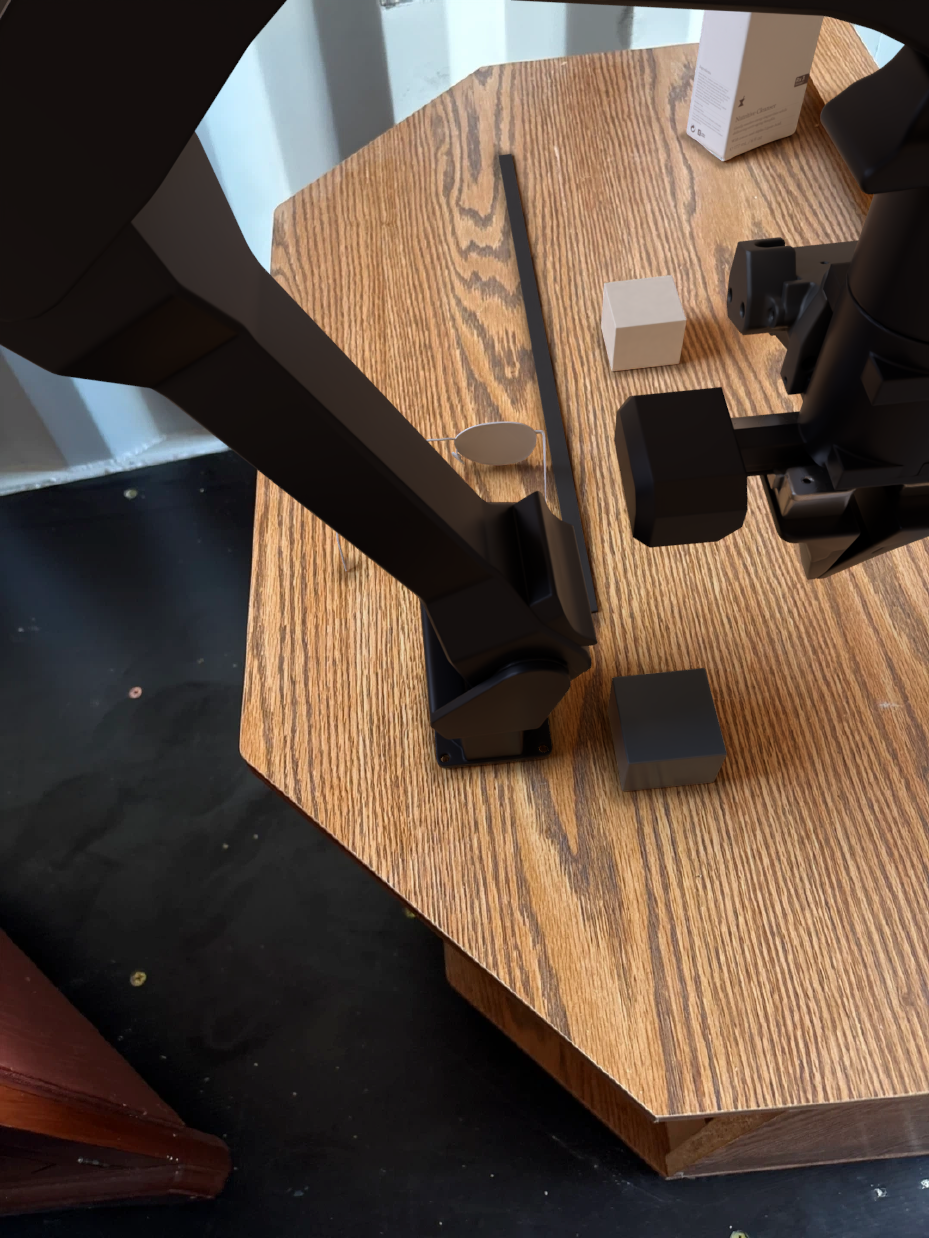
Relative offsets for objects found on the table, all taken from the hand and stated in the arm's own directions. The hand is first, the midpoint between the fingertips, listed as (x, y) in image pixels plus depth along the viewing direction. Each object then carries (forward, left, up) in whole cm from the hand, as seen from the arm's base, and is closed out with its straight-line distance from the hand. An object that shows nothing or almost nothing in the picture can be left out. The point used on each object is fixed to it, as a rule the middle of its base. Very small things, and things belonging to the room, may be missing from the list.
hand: (812, 570), depth 40 cm
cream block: (+29, +2, -11) cm, 31 cm away
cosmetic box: (+55, -12, -11) cm, 57 cm away
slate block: (-3, +7, -11) cm, 13 cm away
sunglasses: (+15, +17, -11) cm, 25 cm away
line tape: (+31, +9, -11) cm, 34 cm away
